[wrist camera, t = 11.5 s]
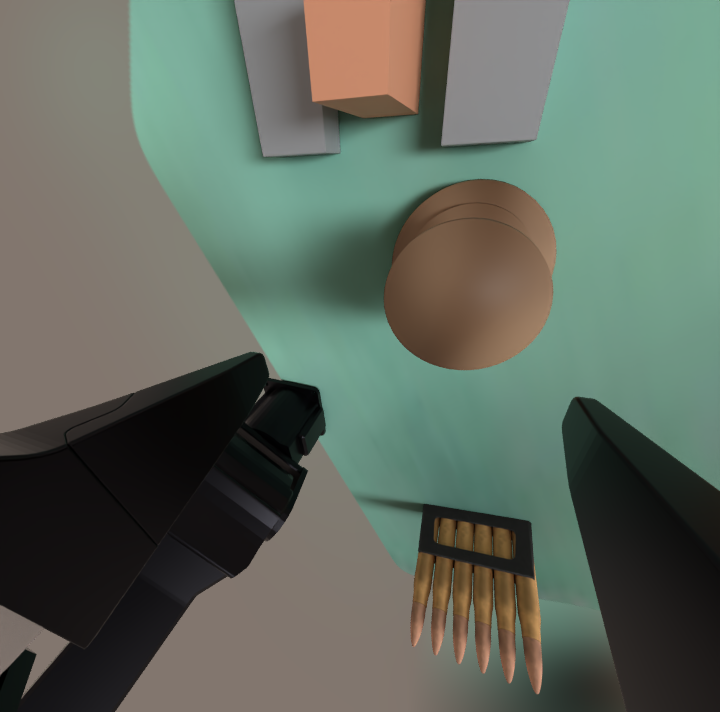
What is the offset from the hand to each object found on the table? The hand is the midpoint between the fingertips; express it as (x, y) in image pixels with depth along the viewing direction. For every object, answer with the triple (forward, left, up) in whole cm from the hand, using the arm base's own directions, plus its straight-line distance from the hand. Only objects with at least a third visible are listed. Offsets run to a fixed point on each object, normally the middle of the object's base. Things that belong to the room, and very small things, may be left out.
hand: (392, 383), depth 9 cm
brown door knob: (+2, 0, -13) cm, 13 cm away
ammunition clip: (+7, -27, -13) cm, 31 cm away
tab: (-3, +10, -13) cm, 16 cm away
